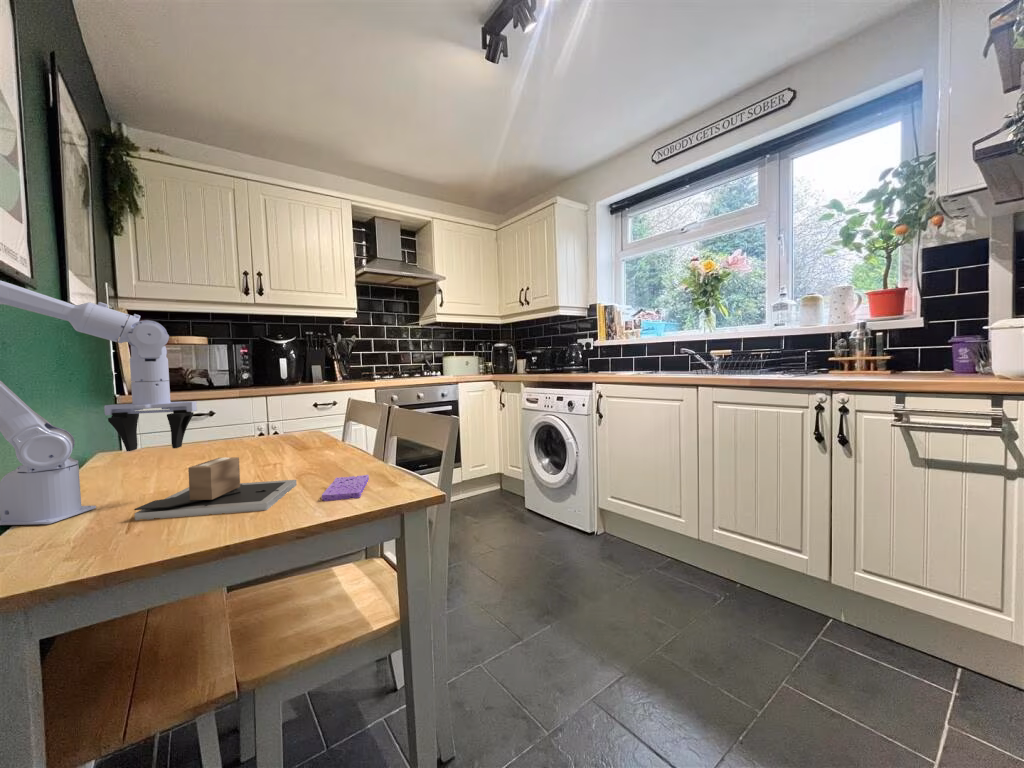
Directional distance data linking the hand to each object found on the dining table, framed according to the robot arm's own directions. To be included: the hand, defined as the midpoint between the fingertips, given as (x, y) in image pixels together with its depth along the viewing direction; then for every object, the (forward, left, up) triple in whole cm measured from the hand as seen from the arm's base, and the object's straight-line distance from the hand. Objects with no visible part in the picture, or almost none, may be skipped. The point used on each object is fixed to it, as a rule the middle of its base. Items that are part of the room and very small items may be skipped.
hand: (154, 448), depth 82 cm
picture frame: (+16, -3, -11) cm, 19 cm away
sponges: (+37, +2, -11) cm, 39 cm away
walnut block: (+15, -4, -8) cm, 17 cm away
